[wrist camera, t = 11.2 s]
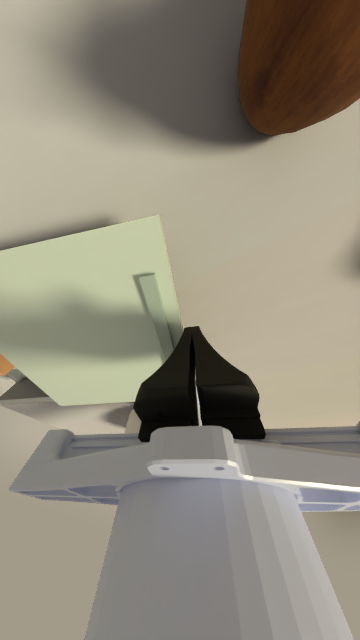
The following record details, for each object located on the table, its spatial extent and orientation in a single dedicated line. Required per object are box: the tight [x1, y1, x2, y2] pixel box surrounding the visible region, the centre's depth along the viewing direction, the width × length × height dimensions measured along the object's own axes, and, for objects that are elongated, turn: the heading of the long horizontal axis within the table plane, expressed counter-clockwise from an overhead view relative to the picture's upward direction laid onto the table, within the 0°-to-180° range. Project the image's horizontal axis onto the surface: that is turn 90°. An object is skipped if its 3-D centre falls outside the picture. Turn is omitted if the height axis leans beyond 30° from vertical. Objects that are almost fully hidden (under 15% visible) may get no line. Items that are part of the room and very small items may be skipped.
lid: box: [0, 215, 183, 406], centre depth 14 cm, size 18×18×1 cm
